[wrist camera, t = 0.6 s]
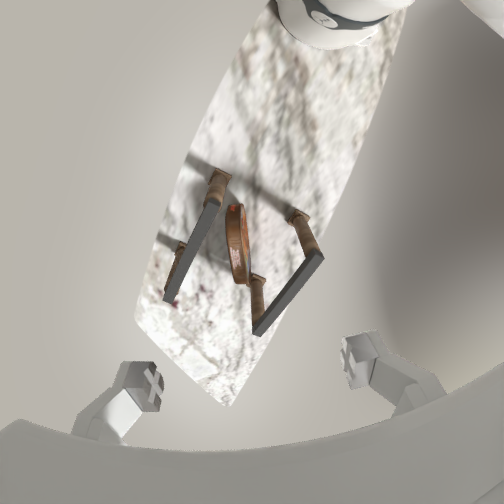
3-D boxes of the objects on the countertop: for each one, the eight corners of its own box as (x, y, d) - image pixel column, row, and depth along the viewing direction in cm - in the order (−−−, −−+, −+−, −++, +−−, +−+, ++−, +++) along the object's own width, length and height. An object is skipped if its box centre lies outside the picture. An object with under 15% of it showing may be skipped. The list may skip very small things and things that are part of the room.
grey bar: (209, 197, 34) (208, 201, 33) (221, 202, 35) (220, 207, 33) (164, 293, 42) (162, 300, 41) (173, 297, 43) (171, 304, 41)
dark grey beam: (313, 248, 39) (315, 254, 37) (321, 252, 39) (324, 258, 38) (252, 327, 47) (252, 334, 45) (260, 330, 47) (260, 337, 46)
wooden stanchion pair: (215, 167, 45) (207, 190, 34) (309, 216, 50) (326, 250, 39) (174, 253, 53) (160, 293, 42) (258, 288, 58) (262, 331, 48)
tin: (251, 267, 55) (253, 293, 48) (236, 268, 55) (235, 295, 48) (243, 196, 48) (243, 215, 40) (225, 198, 48) (222, 217, 40)
